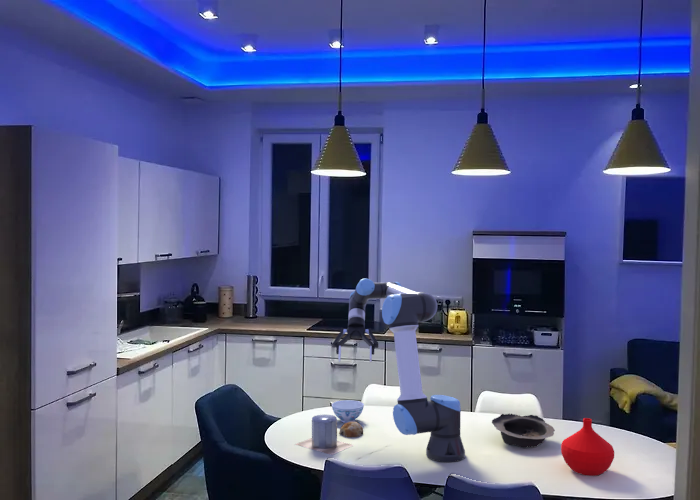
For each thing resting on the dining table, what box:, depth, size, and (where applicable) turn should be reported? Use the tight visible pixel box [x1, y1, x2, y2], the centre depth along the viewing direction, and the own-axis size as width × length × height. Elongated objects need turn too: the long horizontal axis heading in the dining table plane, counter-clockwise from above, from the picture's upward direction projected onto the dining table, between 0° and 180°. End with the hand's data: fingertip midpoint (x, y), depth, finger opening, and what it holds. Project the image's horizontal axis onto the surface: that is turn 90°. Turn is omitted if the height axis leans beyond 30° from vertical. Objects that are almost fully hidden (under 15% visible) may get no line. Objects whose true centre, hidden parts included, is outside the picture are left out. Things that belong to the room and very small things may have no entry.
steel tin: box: [311, 414, 338, 449], centre depth 255 cm, size 10×10×11 cm
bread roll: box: [338, 421, 364, 438], centre depth 269 cm, size 10×10×8 cm
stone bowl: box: [491, 413, 556, 449], centre depth 260 cm, size 25×25×9 cm
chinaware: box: [331, 399, 365, 424], centre depth 291 cm, size 15×15×8 cm
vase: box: [560, 417, 615, 477], centre depth 228 cm, size 18×18×19 cm
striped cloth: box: [294, 437, 355, 456], centre depth 255 cm, size 20×14×1 cm
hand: (354, 360), depth 270 cm, fingers open, 13 cm apart
